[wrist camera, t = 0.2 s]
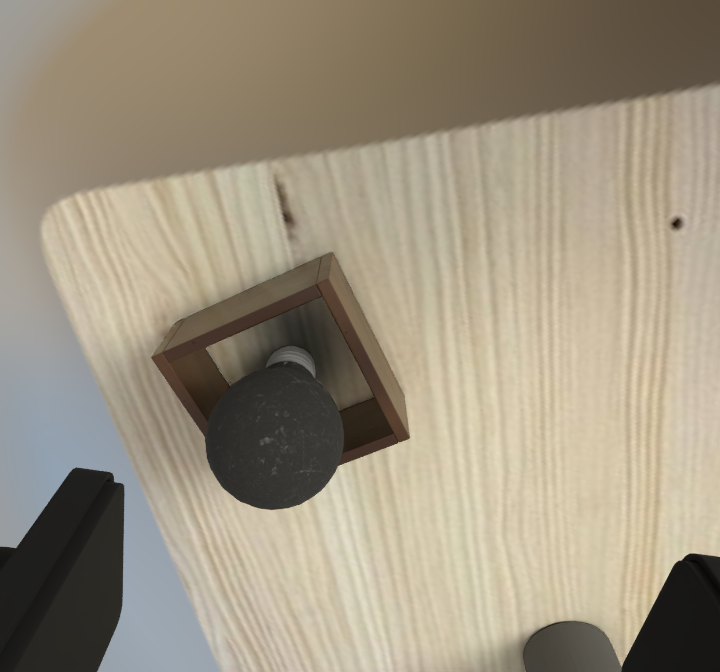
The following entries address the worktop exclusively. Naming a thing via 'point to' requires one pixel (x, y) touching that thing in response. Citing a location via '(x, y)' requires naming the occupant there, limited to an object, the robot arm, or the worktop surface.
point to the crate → (285, 292)
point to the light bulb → (275, 434)
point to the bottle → (570, 650)
